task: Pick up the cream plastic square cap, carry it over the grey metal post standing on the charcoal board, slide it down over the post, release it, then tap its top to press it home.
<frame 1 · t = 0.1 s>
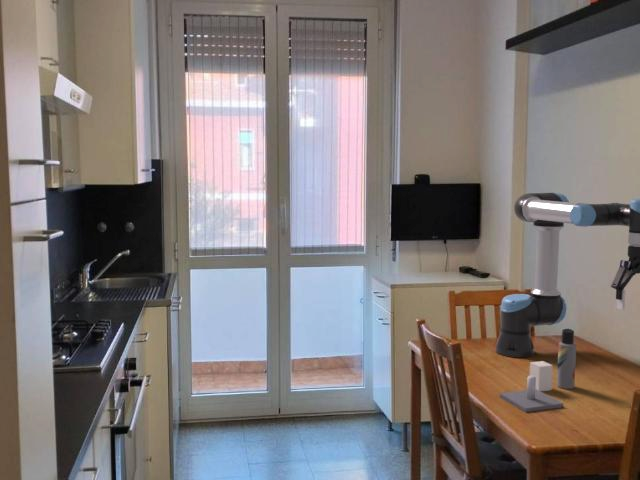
hand: (636, 307, 220), 28 cm above the table, fingers open, 13 cm apart
lotion bottle: (565, 387, 225), on the table
post board: (530, 401, 210), on the table
cap: (540, 388, 223), on the table
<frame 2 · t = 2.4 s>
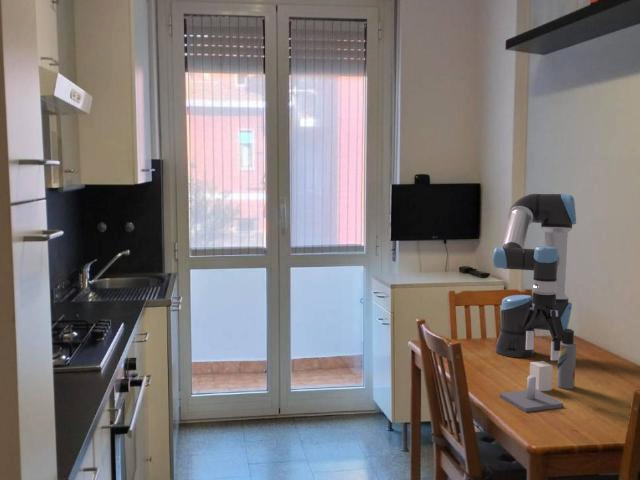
hand: (541, 354, 221), 12 cm above the table, fingers open, 13 cm apart
nothing on the table moved.
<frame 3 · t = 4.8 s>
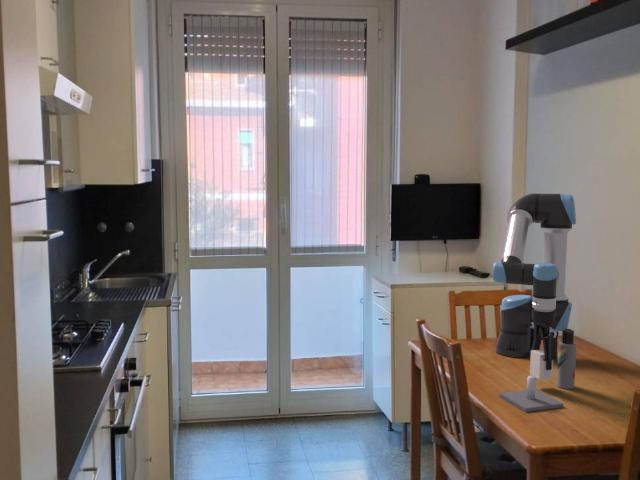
hand: (541, 375, 223), 4 cm above the table, fingers closed on cap, 5 cm apart
cap: (540, 376, 223), point 4 cm above the table, touching gripper
everything else where it was.
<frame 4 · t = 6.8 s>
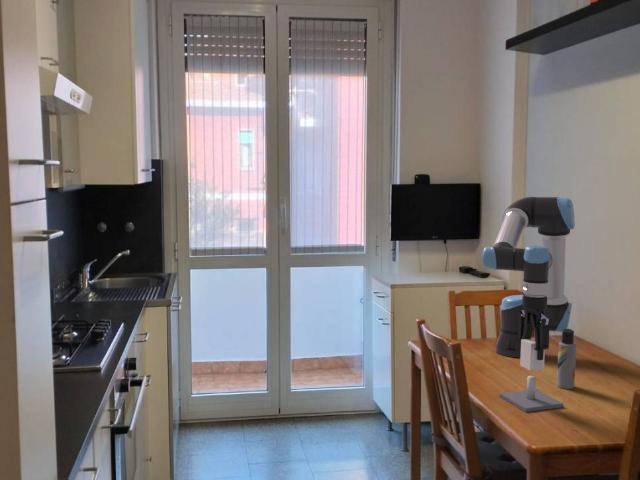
hand: (532, 366, 208), 12 cm above the table, fingers closed on cap, 5 cm apart
cap: (531, 367, 208), point 12 cm above the table, touching gripper
everything else where it was.
when the fingers open (2 cm above the table, at t = 9.0 s): cap stays where it is, resting on post board.
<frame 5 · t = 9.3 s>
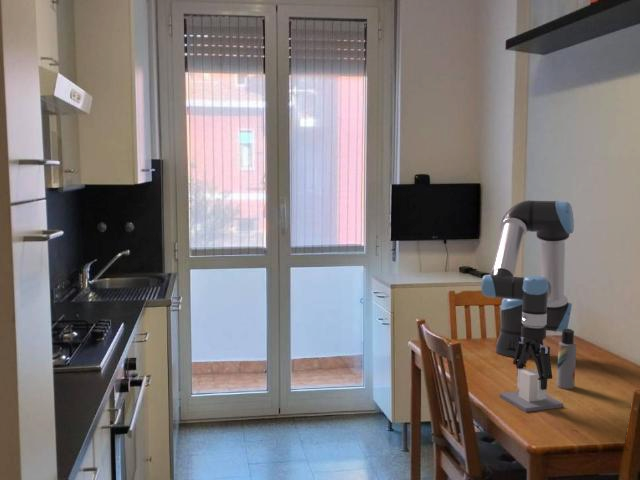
hand: (531, 393, 210), 3 cm above the table, fingers open, 10 cm apart
cap: (530, 398, 210), point 1 cm above the table, touching post board
everything else where it was.
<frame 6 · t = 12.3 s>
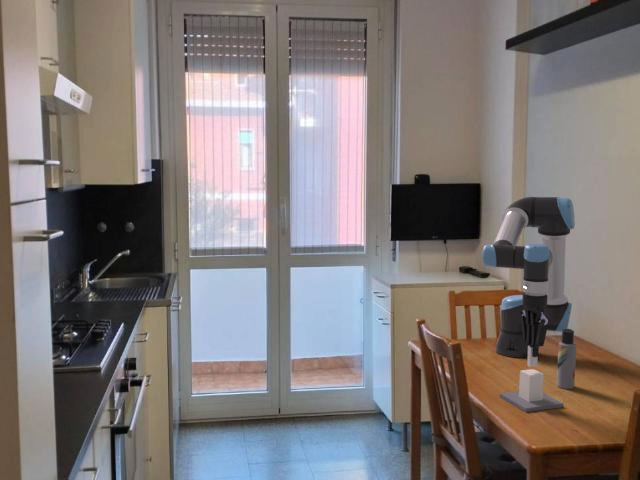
hand: (532, 365, 209), 12 cm above the table, fingers closed
nothing on the table moved.
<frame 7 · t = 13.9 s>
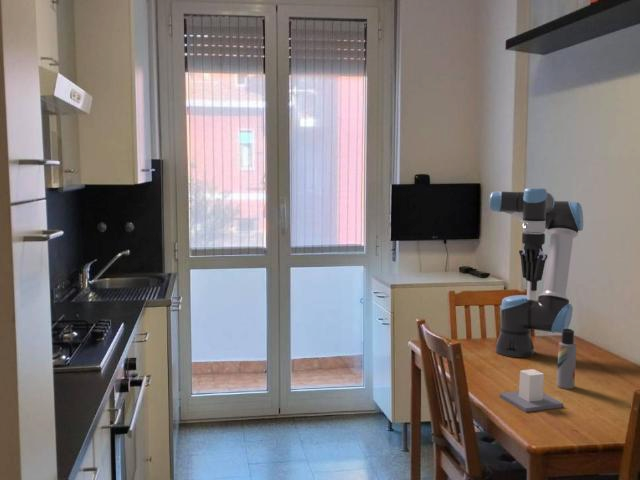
hand: (531, 299, 229), 29 cm above the table, fingers closed
nothing on the table moved.
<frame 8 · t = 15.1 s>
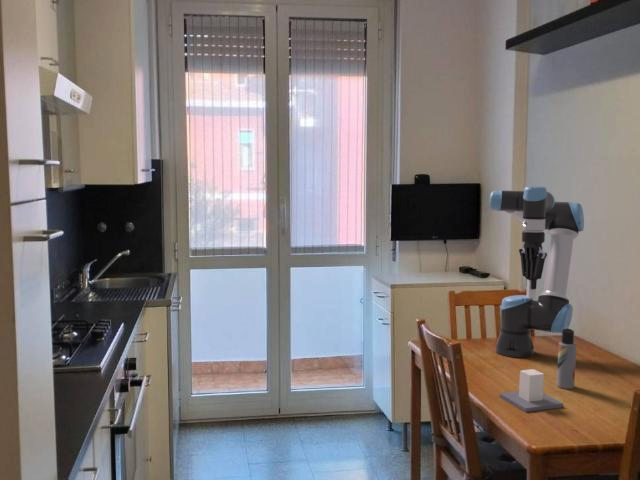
hand: (530, 297, 229), 29 cm above the table, fingers closed
nothing on the table moved.
at the end: cap 0.0 cm from the post board (horizontally); cap point 1.2 cm above the table; the gripper is holding nothing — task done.
